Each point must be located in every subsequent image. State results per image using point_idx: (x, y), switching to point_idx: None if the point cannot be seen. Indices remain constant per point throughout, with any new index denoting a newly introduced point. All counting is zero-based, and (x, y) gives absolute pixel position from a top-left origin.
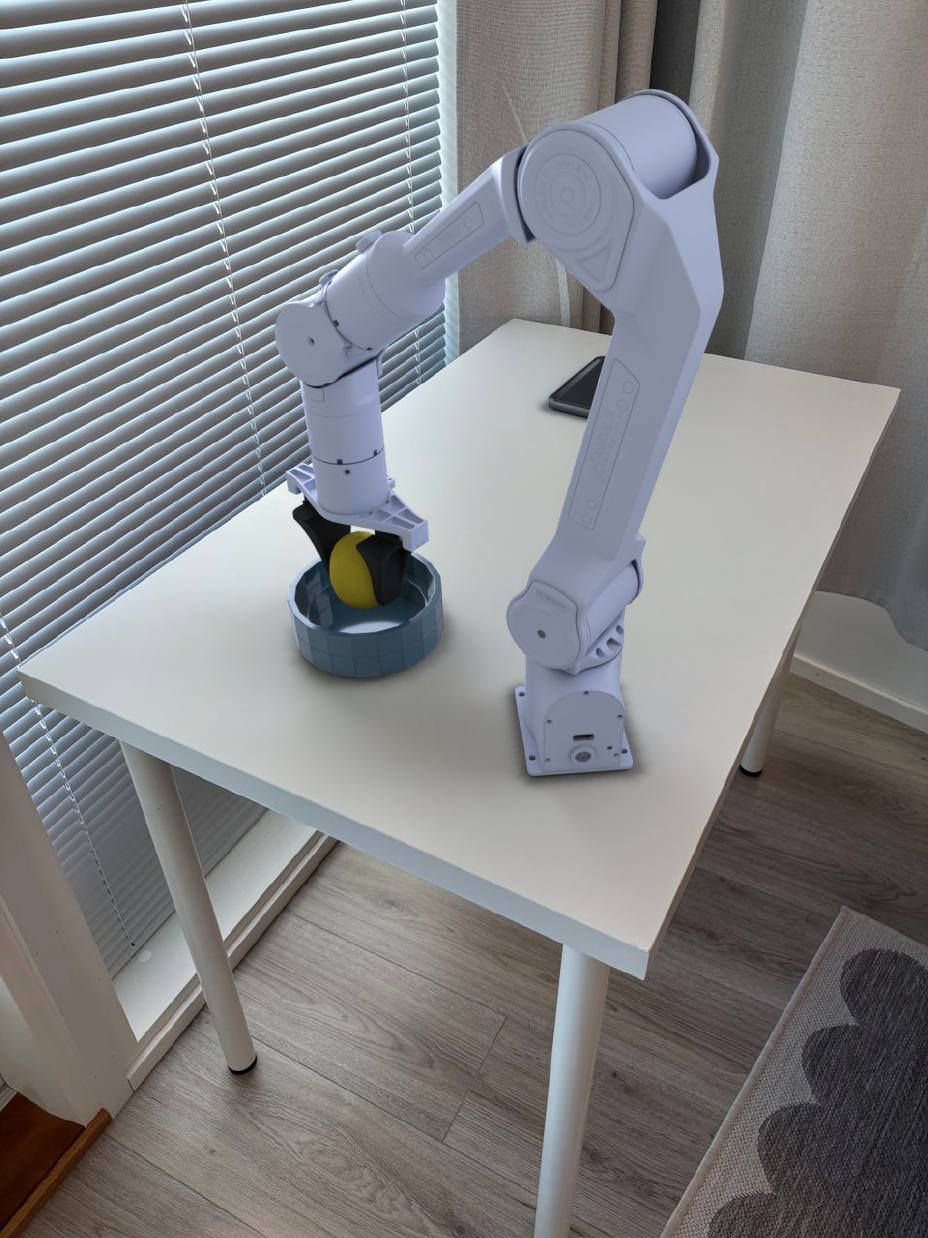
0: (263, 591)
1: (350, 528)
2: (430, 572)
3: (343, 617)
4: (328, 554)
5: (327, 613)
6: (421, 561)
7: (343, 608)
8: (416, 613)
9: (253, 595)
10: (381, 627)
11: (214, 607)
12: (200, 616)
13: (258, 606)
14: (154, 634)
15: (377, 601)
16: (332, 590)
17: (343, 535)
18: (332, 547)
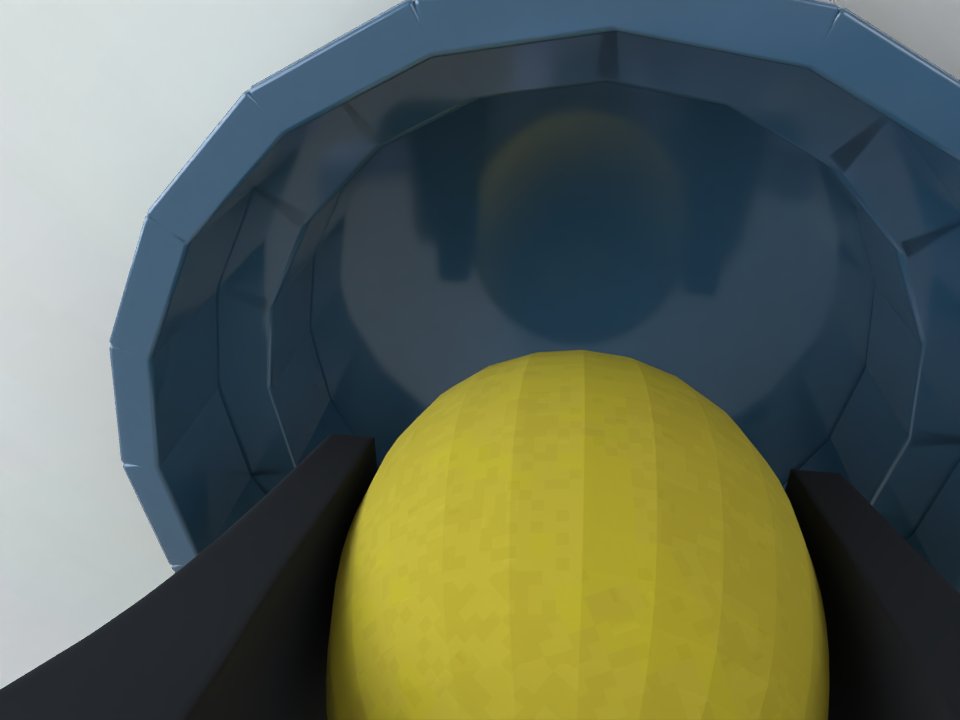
0: (15, 378)
1: (242, 636)
2: (896, 123)
3: (429, 361)
4: (319, 717)
5: (350, 375)
6: (738, 52)
7: (378, 317)
8: (720, 132)
9: (18, 414)
10: (628, 320)
11: (7, 522)
12: (28, 569)
13: (96, 447)
14: (34, 668)
15: None
16: (287, 348)
17: (265, 673)
18: (300, 717)
